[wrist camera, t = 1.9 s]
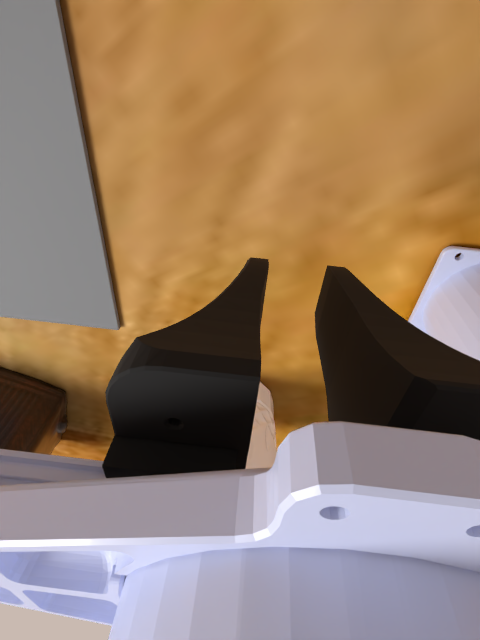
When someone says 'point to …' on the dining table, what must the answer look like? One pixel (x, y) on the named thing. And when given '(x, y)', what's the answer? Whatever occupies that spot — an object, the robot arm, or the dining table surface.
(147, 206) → the dining table surface
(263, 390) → the white cup
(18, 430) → the coffee grinder
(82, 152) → the mat
